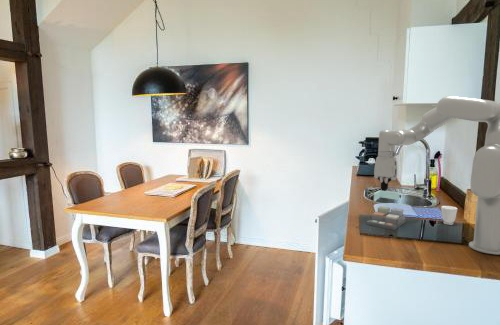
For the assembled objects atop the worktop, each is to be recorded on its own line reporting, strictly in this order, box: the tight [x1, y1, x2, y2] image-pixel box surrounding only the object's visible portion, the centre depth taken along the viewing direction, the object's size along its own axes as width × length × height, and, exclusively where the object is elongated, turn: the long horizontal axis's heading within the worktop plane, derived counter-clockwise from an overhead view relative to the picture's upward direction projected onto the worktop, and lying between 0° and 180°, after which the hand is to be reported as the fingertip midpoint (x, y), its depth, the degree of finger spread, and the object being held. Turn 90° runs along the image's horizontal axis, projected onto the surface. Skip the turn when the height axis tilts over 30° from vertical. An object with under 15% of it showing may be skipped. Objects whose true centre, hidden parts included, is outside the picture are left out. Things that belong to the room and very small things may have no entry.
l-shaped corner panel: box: [373, 189, 400, 202], centre depth 199 cm, size 12×12×8 cm
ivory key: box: [386, 214, 399, 219], centre depth 156 cm, size 5×5×3 cm
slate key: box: [390, 207, 404, 217], centre depth 160 cm, size 5×5×3 cm
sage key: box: [377, 205, 391, 215], centre depth 165 cm, size 5×5×3 cm
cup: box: [440, 205, 458, 226], centre depth 160 cm, size 7×10×8 cm
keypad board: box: [366, 211, 406, 231], centre depth 159 cm, size 13×17×4 cm
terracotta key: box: [372, 211, 386, 217], centre depth 160 cm, size 5×5×3 cm
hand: (384, 190), depth 164 cm, fingers closed
